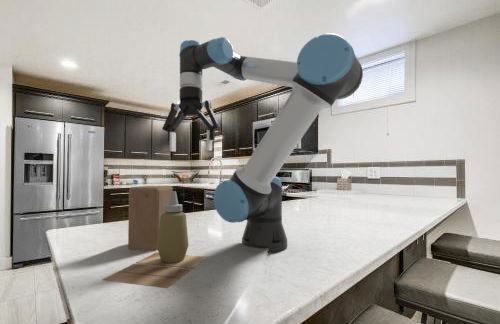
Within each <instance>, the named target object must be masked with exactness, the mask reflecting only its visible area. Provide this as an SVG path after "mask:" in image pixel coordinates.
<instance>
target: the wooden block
mask: <svg viewBox="0 0 500 324" xmlns="http://www.w3.org/2000/svg"><path fill="white" fill-rule="evenodd" d="M171 191H174V190H173V187H172V186H171V185H144V186H143V185H142V186H132V187H130V188H129V190H128V225H127V226H128V231H127V232H128V234H127V236H128V239H127V242H128V243H127V244H128V245H127V248H128V250H139V251H151V252H152V251H153V252H154V251H155V252H156V251H158V249H157V243H158V235H159V226H160V217H161V215H162V214H163V213H165V211H164V206H165V205H168V204H169V200H170V195H171Z"/></svg>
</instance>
